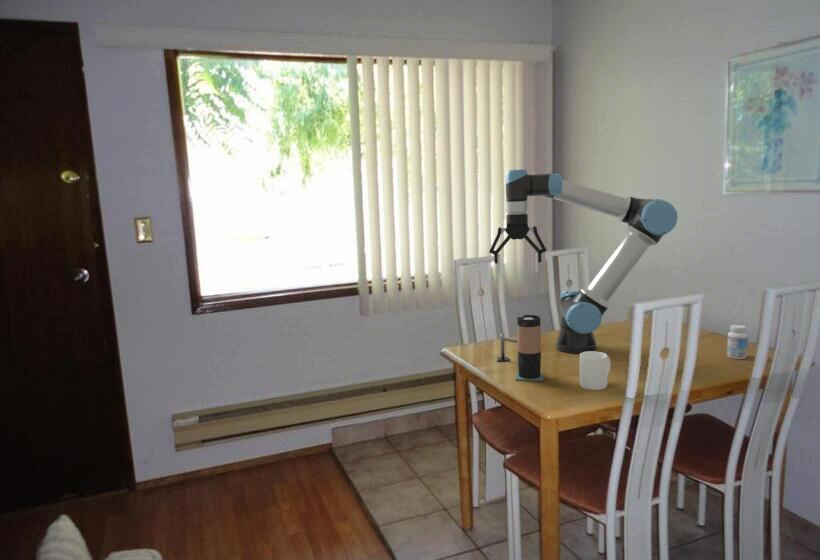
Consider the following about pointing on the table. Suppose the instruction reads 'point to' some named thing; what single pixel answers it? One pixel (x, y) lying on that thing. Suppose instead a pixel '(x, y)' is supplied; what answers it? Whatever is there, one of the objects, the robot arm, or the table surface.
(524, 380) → the coaster
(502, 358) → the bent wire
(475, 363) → the table surface
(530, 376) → the travel mug
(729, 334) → the pill bottle
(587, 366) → the cup
